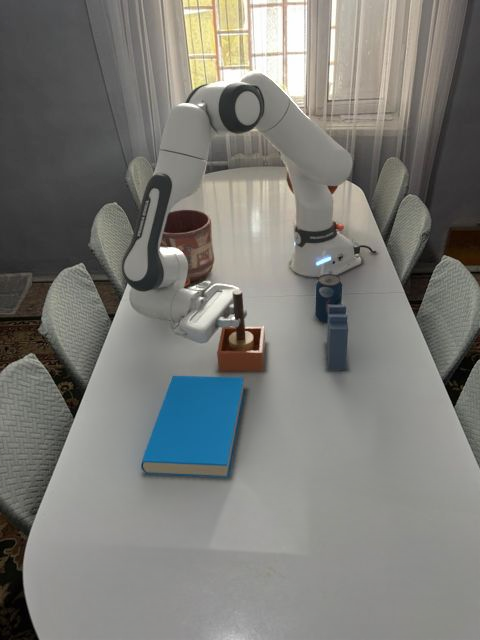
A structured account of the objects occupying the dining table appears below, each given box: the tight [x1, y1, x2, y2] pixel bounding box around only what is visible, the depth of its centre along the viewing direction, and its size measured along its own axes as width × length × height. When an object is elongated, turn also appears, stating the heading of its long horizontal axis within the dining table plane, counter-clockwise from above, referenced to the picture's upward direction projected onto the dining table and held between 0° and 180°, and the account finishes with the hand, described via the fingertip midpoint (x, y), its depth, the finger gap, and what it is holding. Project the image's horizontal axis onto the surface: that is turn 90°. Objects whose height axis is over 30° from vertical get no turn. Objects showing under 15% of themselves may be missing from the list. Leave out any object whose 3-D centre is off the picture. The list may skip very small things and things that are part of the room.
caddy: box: [216, 326, 266, 372], centre depth 125 cm, size 11×11×6 cm
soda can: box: [314, 274, 344, 325], centre depth 135 cm, size 7×7×12 cm
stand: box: [326, 304, 349, 371], centre depth 121 cm, size 4×10×14 cm, turn 177°
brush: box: [229, 289, 254, 351], centre depth 121 cm, size 15×6×15 cm
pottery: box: [160, 209, 215, 284], centre depth 156 cm, size 18×18×18 cm
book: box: [140, 375, 246, 479], centre depth 107 cm, size 17×4×25 cm
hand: (242, 318), depth 119 cm, fingers closed on brush, 2 cm apart
